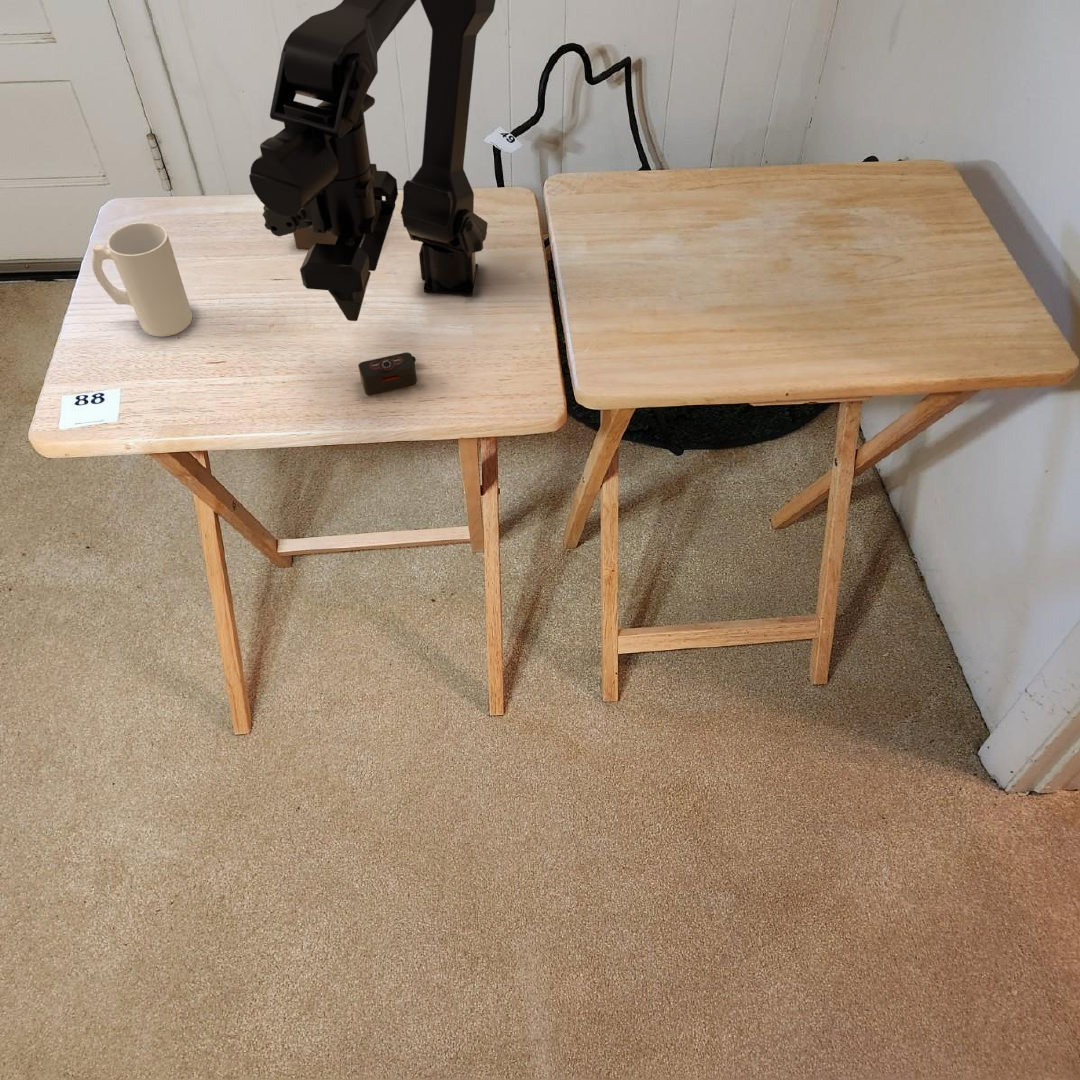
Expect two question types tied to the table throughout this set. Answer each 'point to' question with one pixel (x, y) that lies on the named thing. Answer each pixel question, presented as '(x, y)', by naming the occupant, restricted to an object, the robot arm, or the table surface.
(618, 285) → the table surface
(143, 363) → the table surface
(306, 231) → the walnut block
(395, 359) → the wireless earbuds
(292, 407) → the table surface
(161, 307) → the mug
